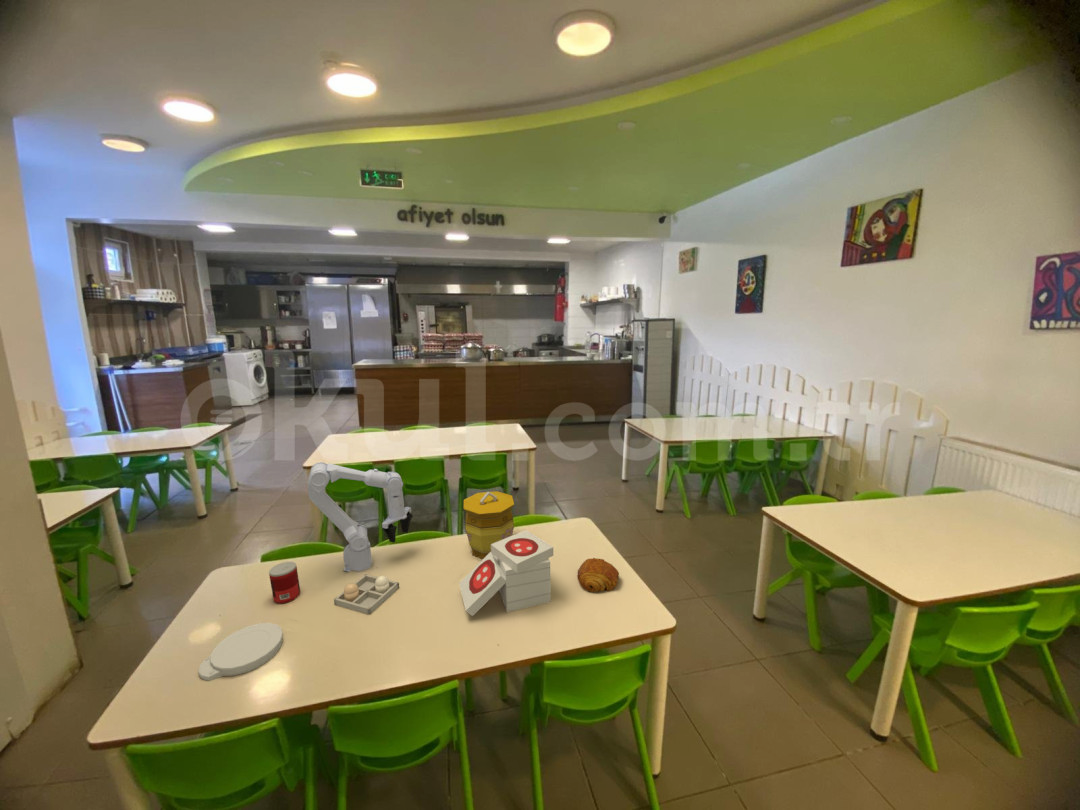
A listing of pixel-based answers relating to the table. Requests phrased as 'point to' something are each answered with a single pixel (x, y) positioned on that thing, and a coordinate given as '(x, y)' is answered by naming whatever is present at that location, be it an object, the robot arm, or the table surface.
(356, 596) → the brown egg
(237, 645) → the lid
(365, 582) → the egg carton
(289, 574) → the canned food
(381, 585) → the cream egg
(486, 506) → the container
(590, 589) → the croissant
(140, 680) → the table surface
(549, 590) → the stacked pizza boxes
